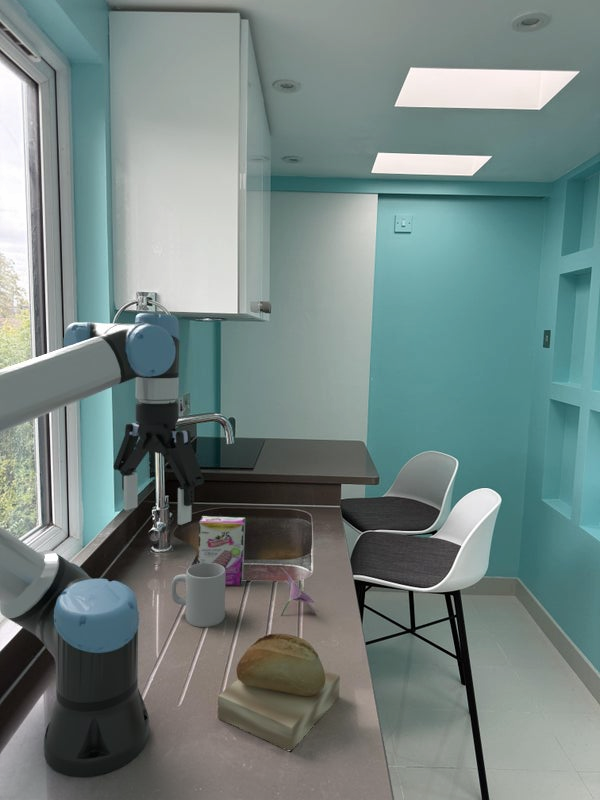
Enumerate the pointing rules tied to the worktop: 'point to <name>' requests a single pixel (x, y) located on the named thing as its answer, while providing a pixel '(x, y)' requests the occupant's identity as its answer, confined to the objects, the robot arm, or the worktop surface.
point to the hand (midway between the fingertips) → (156, 515)
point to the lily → (297, 593)
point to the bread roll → (282, 665)
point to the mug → (202, 594)
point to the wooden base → (276, 710)
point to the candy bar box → (223, 545)
